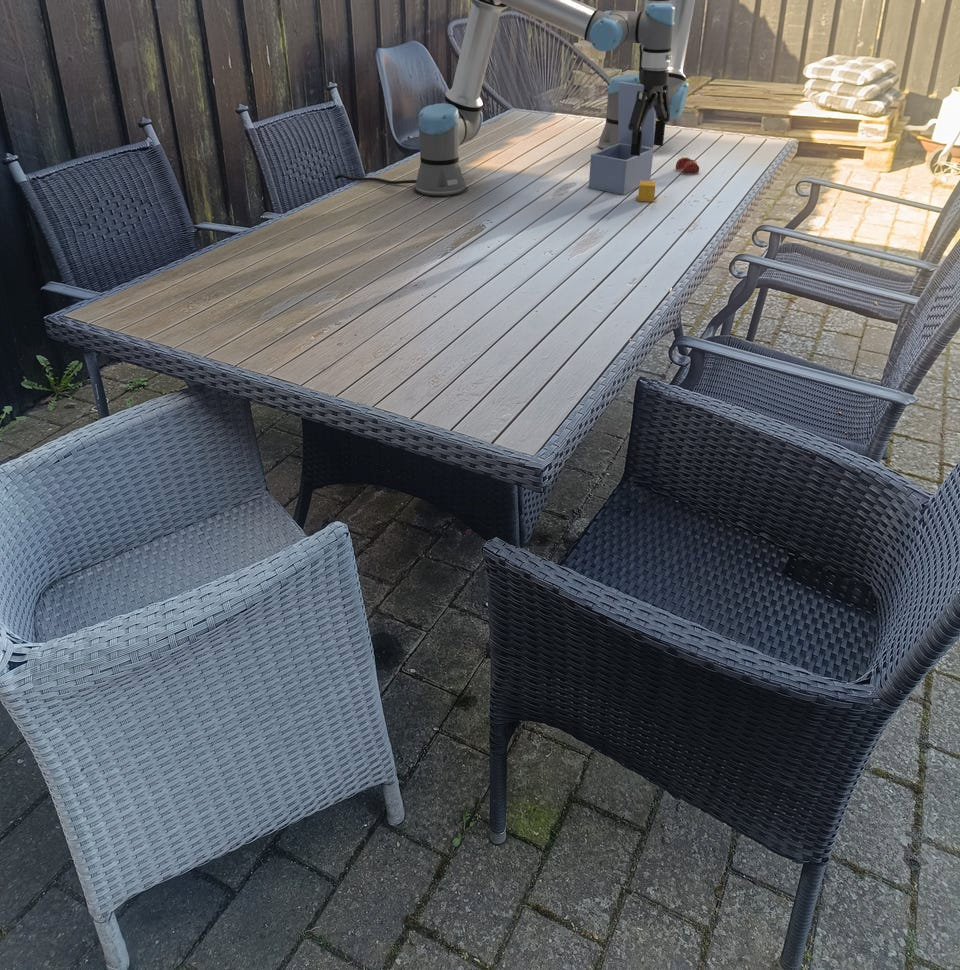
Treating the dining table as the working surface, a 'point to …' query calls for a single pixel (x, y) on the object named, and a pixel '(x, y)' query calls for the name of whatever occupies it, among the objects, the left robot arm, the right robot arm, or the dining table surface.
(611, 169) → the chest
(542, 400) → the dining table surface
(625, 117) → the lid
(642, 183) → the block
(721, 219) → the dining table surface
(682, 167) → the dark red rounded lump
